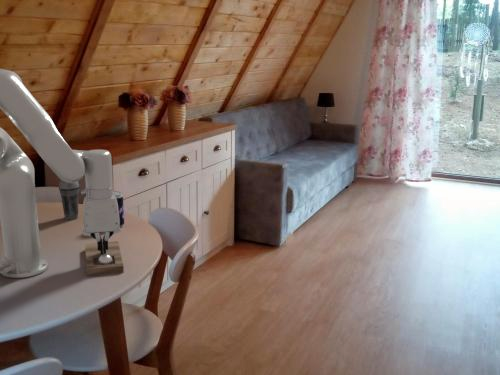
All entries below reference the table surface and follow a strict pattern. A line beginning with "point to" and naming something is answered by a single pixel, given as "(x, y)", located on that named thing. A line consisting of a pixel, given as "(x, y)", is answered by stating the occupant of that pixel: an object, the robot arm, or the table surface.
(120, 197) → the beverage can
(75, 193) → the beverage cup
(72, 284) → the table surface
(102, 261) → the steel ball
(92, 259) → the slotted wooden board
